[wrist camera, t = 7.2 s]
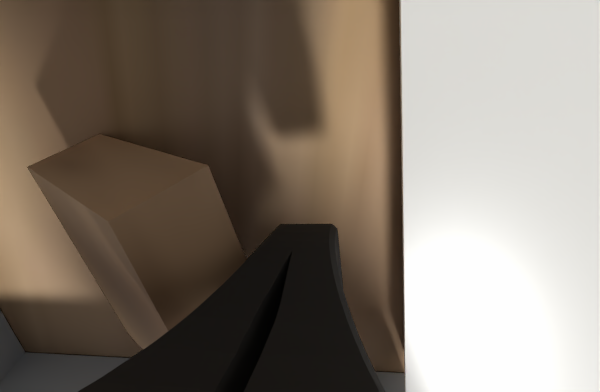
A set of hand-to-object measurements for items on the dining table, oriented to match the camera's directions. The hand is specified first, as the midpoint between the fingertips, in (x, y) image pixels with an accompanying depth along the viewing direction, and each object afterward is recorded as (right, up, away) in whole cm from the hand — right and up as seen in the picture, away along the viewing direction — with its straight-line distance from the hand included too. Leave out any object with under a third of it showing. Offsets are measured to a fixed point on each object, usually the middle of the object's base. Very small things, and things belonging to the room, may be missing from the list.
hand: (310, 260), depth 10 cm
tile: (-3, 0, +2) cm, 4 cm away
